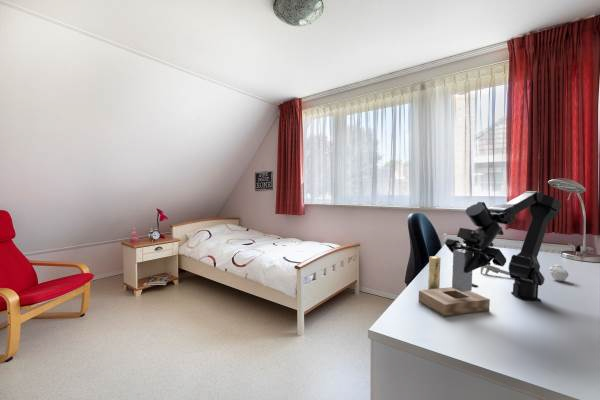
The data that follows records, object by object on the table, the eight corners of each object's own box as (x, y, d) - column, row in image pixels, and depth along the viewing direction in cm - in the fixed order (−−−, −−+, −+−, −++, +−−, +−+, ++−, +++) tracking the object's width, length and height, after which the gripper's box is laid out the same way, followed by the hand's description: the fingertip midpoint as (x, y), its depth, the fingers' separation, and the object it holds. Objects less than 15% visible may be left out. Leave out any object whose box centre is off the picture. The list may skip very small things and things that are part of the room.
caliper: (480, 274, 129) (481, 261, 129) (480, 273, 130) (481, 260, 130) (536, 283, 118) (537, 269, 117) (535, 282, 119) (536, 268, 118)
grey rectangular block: (460, 286, 92) (462, 249, 92) (471, 290, 89) (473, 251, 88) (452, 287, 91) (453, 249, 91) (462, 292, 87) (464, 252, 87)
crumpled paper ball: (558, 278, 124) (559, 263, 123) (572, 283, 117) (573, 267, 117) (544, 277, 124) (545, 262, 124) (557, 283, 117) (558, 267, 117)
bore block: (459, 296, 100) (459, 286, 100) (489, 311, 89) (489, 299, 89) (418, 301, 96) (418, 290, 96) (444, 317, 84) (445, 304, 84)
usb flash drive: (478, 287, 111) (478, 285, 111) (469, 289, 110) (469, 286, 110) (460, 280, 120) (460, 278, 119) (451, 281, 118) (451, 279, 118)
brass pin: (436, 287, 109) (438, 256, 109) (440, 291, 105) (442, 259, 105) (426, 287, 110) (427, 256, 109) (430, 290, 106) (431, 258, 105)
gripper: (449, 216, 99) (424, 248, 96) (501, 223, 81) (473, 262, 78) (464, 236, 102) (441, 267, 99) (518, 247, 84) (491, 285, 81)
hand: (459, 270), depth 89 cm, fingers closed on grey rectangular block, 4 cm apart
